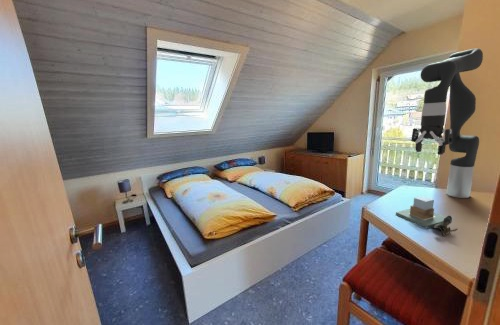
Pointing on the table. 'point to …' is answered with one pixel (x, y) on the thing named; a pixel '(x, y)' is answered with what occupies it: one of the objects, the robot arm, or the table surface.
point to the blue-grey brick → (423, 203)
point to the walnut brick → (421, 212)
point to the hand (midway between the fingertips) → (429, 153)
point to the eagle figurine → (445, 226)
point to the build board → (425, 223)
